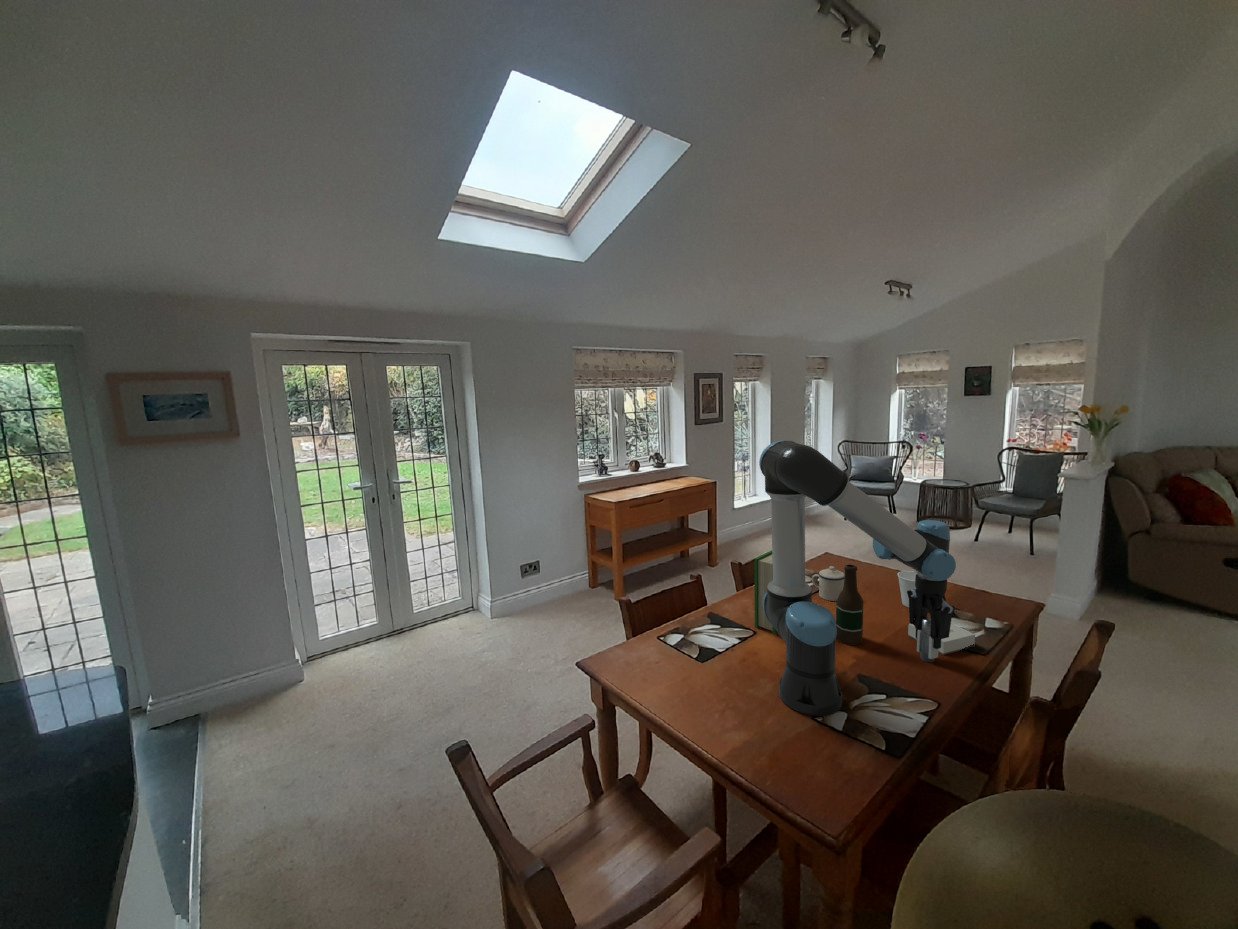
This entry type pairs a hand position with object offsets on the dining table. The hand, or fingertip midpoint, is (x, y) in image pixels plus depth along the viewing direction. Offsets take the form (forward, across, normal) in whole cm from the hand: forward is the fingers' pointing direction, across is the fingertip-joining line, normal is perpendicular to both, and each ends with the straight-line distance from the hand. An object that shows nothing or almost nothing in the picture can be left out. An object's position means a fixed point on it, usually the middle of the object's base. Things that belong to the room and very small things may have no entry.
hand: (927, 654), depth 140 cm
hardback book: (+2, +35, +25) cm, 43 cm away
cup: (+2, +28, -25) cm, 38 cm away
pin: (+2, 0, 0) cm, 2 cm away
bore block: (+2, +6, -12) cm, 14 cm away
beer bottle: (+2, +17, +12) cm, 21 cm away
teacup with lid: (+2, +46, -4) cm, 46 cm away
